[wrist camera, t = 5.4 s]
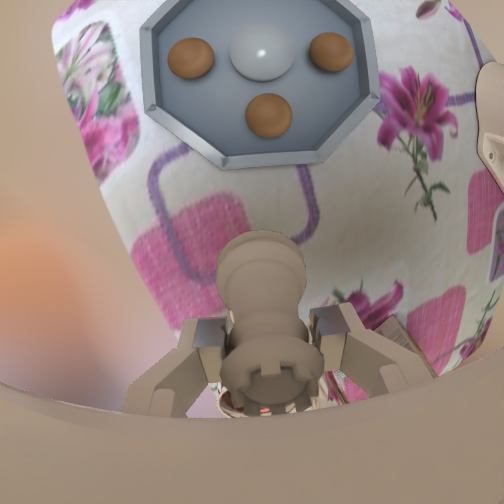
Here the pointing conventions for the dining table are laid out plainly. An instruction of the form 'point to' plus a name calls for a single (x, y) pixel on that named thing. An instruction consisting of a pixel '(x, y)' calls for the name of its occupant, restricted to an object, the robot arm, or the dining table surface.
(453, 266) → the dining table surface
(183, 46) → the walnut bead
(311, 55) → the walnut bead
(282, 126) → the walnut bead
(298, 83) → the ring dish
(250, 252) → the rook chess piece
